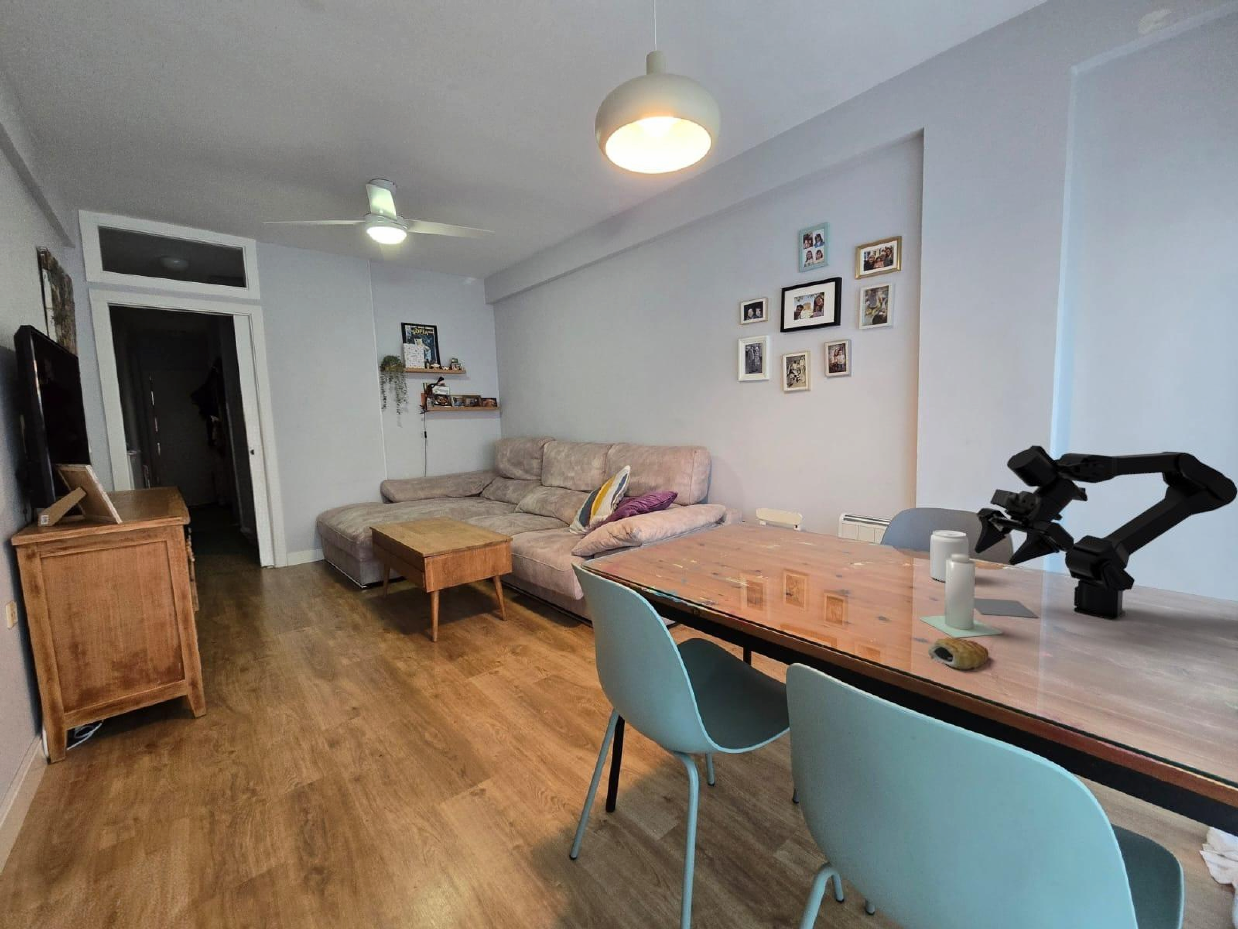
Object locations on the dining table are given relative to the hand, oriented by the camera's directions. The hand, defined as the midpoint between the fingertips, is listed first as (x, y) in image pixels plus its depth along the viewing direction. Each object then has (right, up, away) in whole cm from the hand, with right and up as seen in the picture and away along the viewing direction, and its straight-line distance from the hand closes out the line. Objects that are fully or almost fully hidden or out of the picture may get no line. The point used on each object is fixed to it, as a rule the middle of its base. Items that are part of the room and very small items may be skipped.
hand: (992, 557), depth 104 cm
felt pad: (+6, -12, +6) cm, 15 cm away
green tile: (-9, -13, -3) cm, 16 cm away
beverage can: (+8, -11, +26) cm, 29 cm away
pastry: (-18, -15, -16) cm, 29 cm away
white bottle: (-9, -13, -3) cm, 16 cm away
